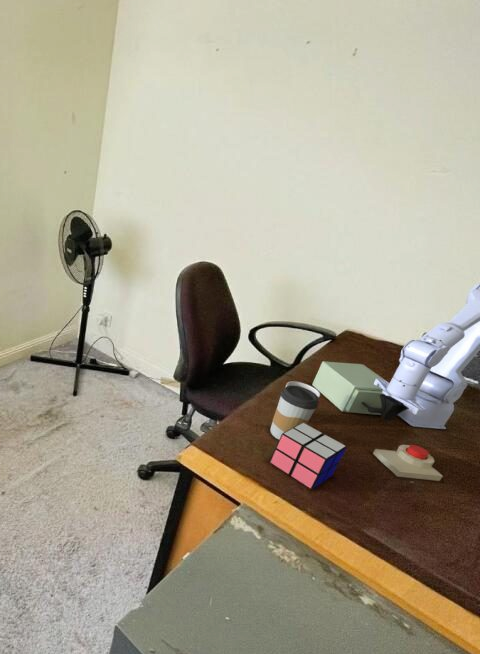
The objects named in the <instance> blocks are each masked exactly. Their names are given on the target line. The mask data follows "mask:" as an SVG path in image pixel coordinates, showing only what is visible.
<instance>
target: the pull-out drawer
mask: <svg viewBox="0 0 480 654" xmlns="http://www.w3.org/2000/svg"><path fill="white" fill-rule="evenodd" d="M380 394H383V393H382V391H376V390H364V389H356V390H355V392H354V394H353V396H352V398H351V400H350V402H349V404H348V406H347V407H346V410H347V411H348V412H347V413H352V412H355V414H364V413H366V415H367V414H368V415H375V414H377V416H381V408H382V405H381V399H380Z"/></svg>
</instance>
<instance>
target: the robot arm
mask: <svg viewBox="0 0 480 654" xmlns="http://www.w3.org/2000/svg"><path fill="white" fill-rule="evenodd" d="M465 300H466V301H465V305H464V307H462V308H461V309H460V310H459V311H458V312H457V313H456V314H455V315H454V316H453V317H452V318H451V319H450V320H449V321H448V322H440V323H438V324H436V325H435V326H434V327H432V328H431V329H430V330H429V331H428V332H426V333H425V334H423V335H422V336H421V337H420V338H418V339H416V340H415V339H411V340H409V341H408V342H407V343H406V344H405V345H404V346H403V347H402V349H401V350H400V357H399V359H398V362H399V365H398V367H397V368H396V370H395V371H394V373H393V375H392V377H391V379H390V382H389V381H387V380H386V379H384V378H383V379H384V380H383V379H376V380H375V382H374V385H376V386H379V387H381V388H382V389H383V391H382V393H383V394H380V399H381V405H382V408H381V415H380V418H381V419H382V420H384V421H392V420H393V419H394V418H396V417H397V416H398V418H401V419H402V420H403V421H404V422H406V423H407V424H408V425H409V426H411V427H416V428H427V429H438V430H446V429H447V427H446V426H445V425H446V424H447V422H448V421H449V419H450V417H451V416H452V415H453V413H454V411H455V405H454V403H455V402H456V401H457V400H459V399H460V398H461V396H462V395H463V394H464V391H465V389H466V388H467V387H468V381H467V380H466V378H465V376H463V374H462V371H463V370H464V369H465V368H467V365H469V363H470V362H471V361H473V359H474V358H475V357H476V356H477V355H478V353H479V352H480V282H478V283H476V284H475V285H474V286H472V287H471V288H470V289H469V291H468V292H467V295H466V299H465ZM436 374H437V375H436ZM385 380H386V381H385Z"/></svg>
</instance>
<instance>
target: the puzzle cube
mask: <svg viewBox="0 0 480 654" xmlns="http://www.w3.org/2000/svg"><path fill="white" fill-rule="evenodd" d="M347 449H348V448H347V446H346V445H344V444H343V443H341V442H339V441H337V440H336V439H334V438H332V437H330V436H328V435H327V434H323V432H321V431H319V430H317V429H316V428H313V427H312V426H310V425H308V424H307V425H306V424H304V423H301V424H299V425H297V426H295V427H293V428H292V429H290V430H288V431H286V432H284V433H282V435H281V437H280V439H278V442H277V444H276V447H275V448H274V450H273V453H272V455H271V457H270V460H269V463H270V464H271V465H273V466H275V467H276V468H278V469H279V470H281V471H283V472H284V473H286V474H287V475H290V477H292V478H293V479H295V480H296V481H298V482H299V483H301V484H302V485H304V486H305V487H307V488H309V489H310V490H314V489H315V488H317V487H318V486H319V485H321V484H322V483H324V482H325V481H326V480H328V479H329V478H331V477H332V476H333V474H334V472H335V471H336V469H337V467H338V465H339V463H340V462H341V460H342V458H343V456H344V454H345V452H346V451H347Z"/></svg>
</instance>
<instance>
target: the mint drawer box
mask: <svg viewBox="0 0 480 654" xmlns="http://www.w3.org/2000/svg"><path fill="white" fill-rule="evenodd" d="M376 379H383V380H385V381H387V380H386V379H384V378H383V377H381V376H380V375H379V374H377V373H375V372H374V371H373V370H372V369H370V368H368V367H367V366H366V365H365V364H363V363H362V364H361V363H350V362H349V363H348V362H338V361H321V364H320V365H319V369H318V371H317V373H316V375H315V377H314V379H313V382H312V385H311V386H312V387H313V388H315V389H316V390H318V391H319V393H320V394H322V395H323V396H324V398H326V399H328V400H329V401H330V403H332V404H333V405H334V406H335V407H336V408H337V409H338V410H339V411H341V412H344V413H349V412H348V411H347V410H346V407H347V406H348V404H349V402H350V400H351V398H352V396H353V394H354V392H355V390H356V389H364V390H376V391H383V389H382V388H381V387H379V386H376V385H374V382H375V380H376ZM351 413H352V414H353V413H355V412H351ZM355 414H356V413H355ZM363 414H364V415H365V414H366V413H363ZM366 415H367V414H366ZM374 415H377V414H374ZM377 416H378V415H377Z"/></svg>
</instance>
